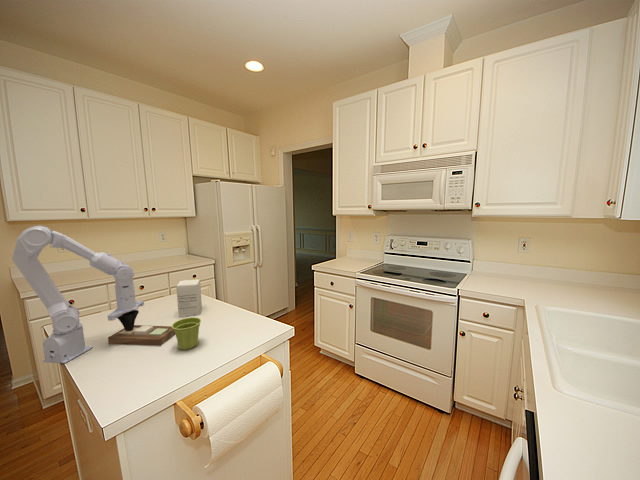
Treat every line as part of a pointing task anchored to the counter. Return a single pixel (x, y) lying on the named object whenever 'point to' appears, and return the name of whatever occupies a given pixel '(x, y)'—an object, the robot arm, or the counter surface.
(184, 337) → the plant pot
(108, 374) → the counter surface
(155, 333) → the sage key
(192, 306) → the supplement box
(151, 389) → the counter surface
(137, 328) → the cream key
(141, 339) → the keypad board
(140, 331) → the ivory key
